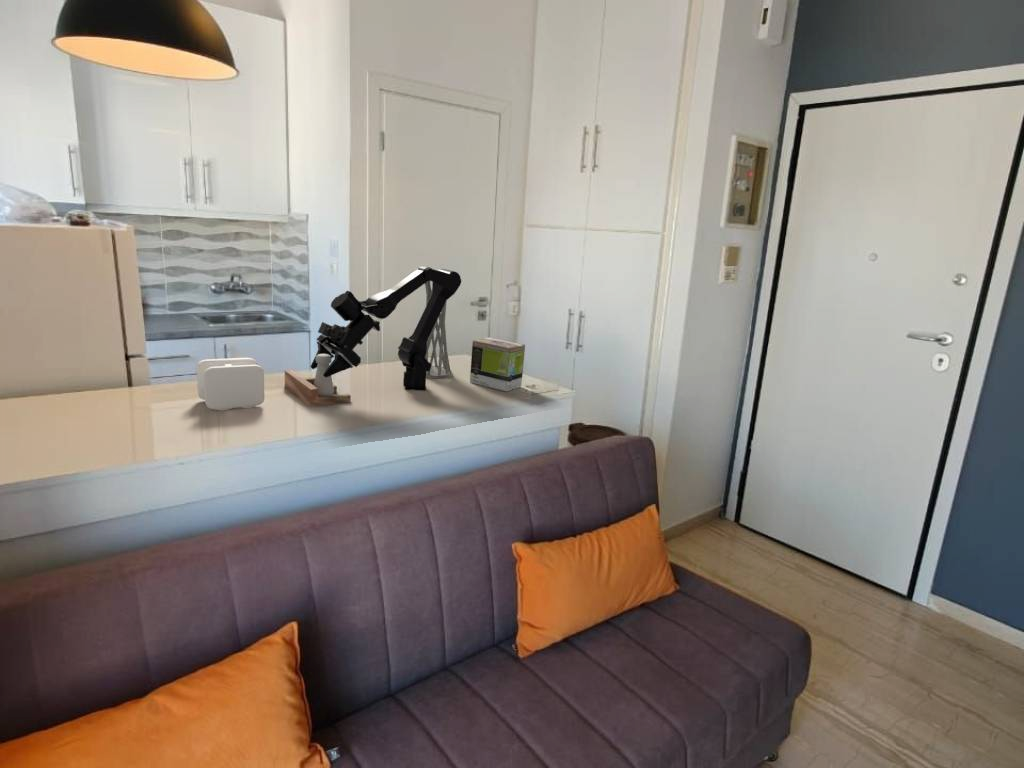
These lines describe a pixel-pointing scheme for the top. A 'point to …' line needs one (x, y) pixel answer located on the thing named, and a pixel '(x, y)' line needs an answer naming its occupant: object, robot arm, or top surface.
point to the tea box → (497, 363)
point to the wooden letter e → (311, 391)
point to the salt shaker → (320, 381)
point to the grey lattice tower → (443, 356)
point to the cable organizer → (230, 383)
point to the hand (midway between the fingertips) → (317, 372)
